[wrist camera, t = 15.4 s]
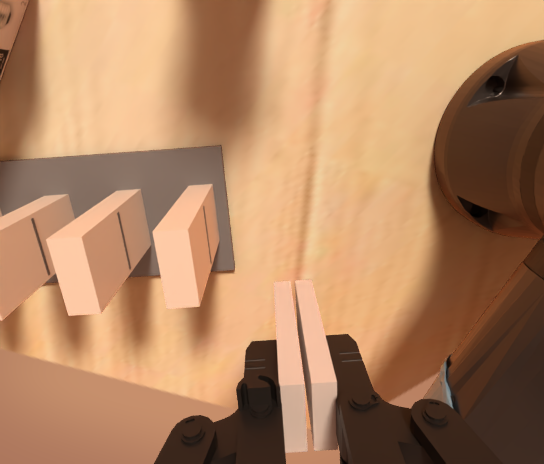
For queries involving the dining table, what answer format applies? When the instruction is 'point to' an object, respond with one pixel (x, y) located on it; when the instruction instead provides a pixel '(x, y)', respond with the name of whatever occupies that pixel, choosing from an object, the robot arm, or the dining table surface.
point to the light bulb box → (9, 27)
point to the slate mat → (124, 188)
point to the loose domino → (29, 248)
